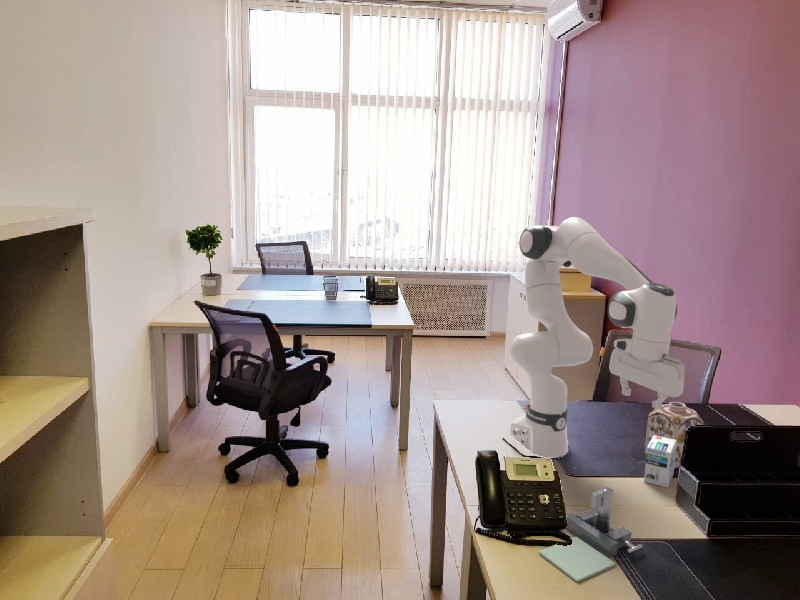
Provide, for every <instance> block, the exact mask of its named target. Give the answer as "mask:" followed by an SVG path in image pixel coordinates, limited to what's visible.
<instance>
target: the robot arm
mask: <svg viewBox="0 0 800 600" xmlns="http://www.w3.org/2000/svg"><path fill="white" fill-rule="evenodd" d="M518 244H519V250H520V252H521V254H522V256H524V257H525V258H528V260H527V262H526V263H525V270H524V271H525V272H524V276H525V277H524V278H525V279H524V281H525V282H524V283H525V293H526V301H527V308H528V309H527V310H528V314H529V315H530V317H531V318H532V319H533V320H535V321H537V322H540V323H541V324H543V325H544V327H545V328H546V329H547V331H529V332H526V333H521V334H518V335H516V336H515V337H514V338H513V340H512V342H511V344H510V355H511V358H512V360H513V361H514V363H515V364H516V365H517V366H518V367H520V368H521V369H522V370H523V371H524V372H525V374H526V375H527V377H528V380H529V384H530V403H529V404H527V405H523V406H524V408H523V409H524V410H526V412H525V414H523V415H521V416H519V417H518V418H516V419H514V420H513V421H512V422H511V423H510V427H509V431H510V435H511V436H513V437H514V438H515V439H516V440H517V441H519V442H520V443H521V444H522V445H524V446H525V447H526V448H527V449H529V450H530V451H531V453H533V454H537V455H539V456H543V457H553V458H554V457H559V456H562V455H565V454H566V453H567V452H568V450H569V440H568V430H567V429H568V428H567V421H568V416H569V415H568V409H567V406H568V405H567V404H568V403H567V401H568V399H567V398H568V386H567V384H566V383H565V382H564V380H563V379H562V378H559V377H558V376H556V375H554V374H552V368H554V367H555V368H556V367H574V366H579V365H582V364H584V363H587V362H589V360H590V359H591V358H592V356H593V351H594V345H593V341H592V339H591V337H590V336H589V335H588V334H587V333H586V332H584V331H583V330H581V329H580V328H579V327H578V326H576V324H575V323H574V322H573V320H572V319H571V318H570V316H569V314H568V312H567V309H566V306H565V301H564V296H563V290H562V283H561V277H560V270H561V267H562V266H563V267H564V268H569V267H571V266H573V267H574V268H575V269H576V270H577V271H579V272H580V273H582V274H583V275H585V276H590V277H595V278H601V279H605V280H608V281H612V282H615V283H617V284H619V285H621V286H622V287H624V288H625V289H626V290H623V291H617V292H615V293H613V295H612V296H611V298H610V299H609V301H608V305H607V315H608V318H609V321H610V322H611V323H612V324H613V325H614V326H616V327H620V328H623V329H625V328H626V329H627V328H628V329H632V331H633V333H632V337H629V338H628V337H627V338H620V339H615V340H614V341H613V347H614V349H613V350H612V351H611V354H610V360H609V363H608V364H609V365H608V368H609V371H610V374H612V375H615V376H617V377H619V383H620V385H621V388H622V389H621V394H622V395H623V396H626V397H629V396H631V394H632V393H631V392H632V388H630V386H629V382H632V383H634V384H638V385H639V386H643V387H644V388H648V389H649V390H652V391H655V392H657V397H658V398H657V399H655V400H652V402H651V408H653V409H661V406H662V405H663V403H664V402H665V400H666V399H667V398H669V397H670V398H676V397H680V396H681V395H682V394H683V393H684V390H685V389H684V387H685V371H686V366H685V364H684V363H683V361H682V360H681V359H679V358H677V357H676V358H675V357H673V356H671V355H669V351H670V346H671V330H672V328H673V326H674V323H675V320H676V317H677V316H678V315H677V314H678V305H677V297H676V292H675V291H674V289H672V288H671V287H670V286H667V285H665V284H661V283H656V282H653V281H652V280H651V279H650V278H648V276H647V275H645V273H644V272H643V271H642V270H641V269H639V268H638V266H636V264H634V263H633V262H631V260H629V259H628V258H626V256H624V255H623V254H621V253H620V252H619V251H617V250H616V249H614V248H613V247H612V246H611V245H610V244H609V243H608V242H607V241H606V240H605V238H603V237H602V235H600V233H599V232H598V231H597V230H596V229H595V228H594V227H593V226H592V225H591V224H590V223H588V222H587V221H586V220H584V219H583V218H581V217H578V216H573V217H572V216H571V217H569V218H567V219H565V220H563V221H562V222H561V223H560V225H541V224H534V225H529V226H527V227H526V228H524V229H523V231H522V233H521V235H520V238H519V243H518Z"/></svg>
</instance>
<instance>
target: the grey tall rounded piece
mask: <svg viewBox="0 0 800 600" xmlns="http://www.w3.org/2000/svg"><path fill="white" fill-rule="evenodd" d="M613 498H614V490H613V489H612V488H611V487H609V486H600V487H598V490H596V491H593V492H592V493H591V498H590V499H591V500H590V507H591V508H592V509H594V510H596V511H597V522H596V524H594V525H592V527H594V528H595V529H597V530H598V531H600V532H602V533H603V534H605V535H606V534H607V533H609V532H612V531H614V530H615V529H614V528H613V527H612V526H611V521H612V520H611V518H612V508H613V507H612V506H613Z"/></svg>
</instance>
